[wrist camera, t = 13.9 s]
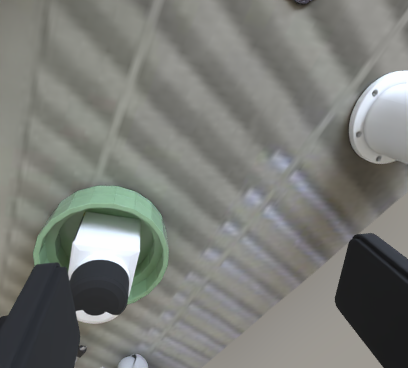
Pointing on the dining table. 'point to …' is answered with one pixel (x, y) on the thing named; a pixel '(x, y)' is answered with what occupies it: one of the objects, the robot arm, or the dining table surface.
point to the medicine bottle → (103, 265)
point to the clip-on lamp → (134, 364)
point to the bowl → (117, 206)
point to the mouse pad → (302, 1)
